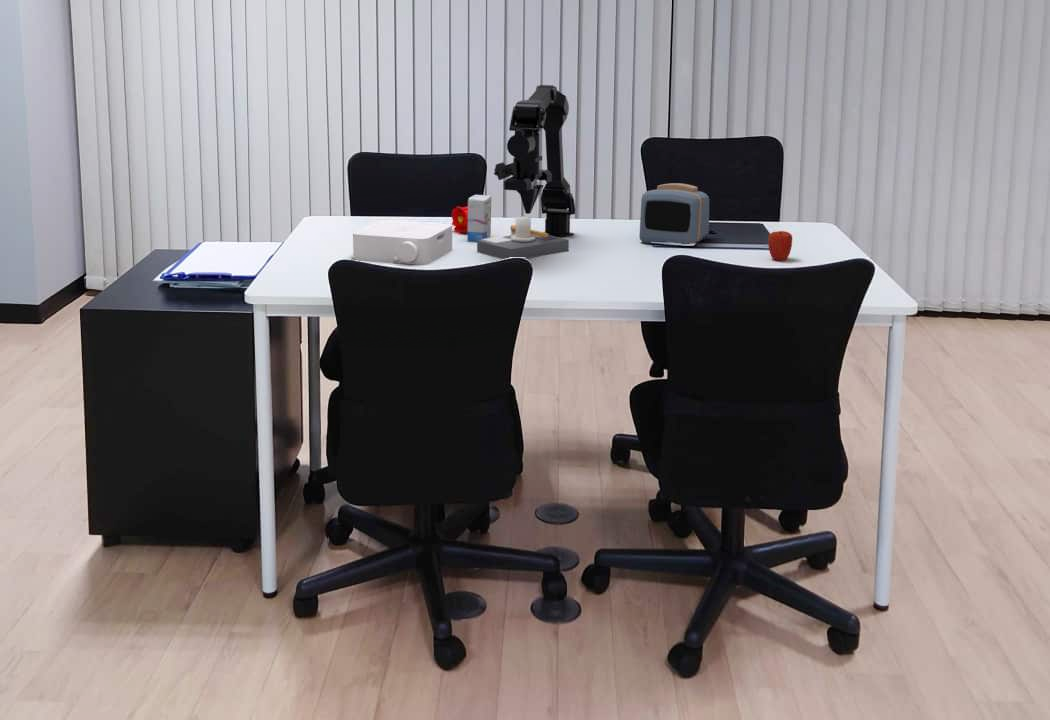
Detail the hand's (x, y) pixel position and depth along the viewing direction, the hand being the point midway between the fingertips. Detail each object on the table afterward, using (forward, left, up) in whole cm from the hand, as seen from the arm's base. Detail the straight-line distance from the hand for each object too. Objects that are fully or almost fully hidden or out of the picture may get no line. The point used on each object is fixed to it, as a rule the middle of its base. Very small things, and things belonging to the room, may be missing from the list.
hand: (527, 213), depth 350 cm
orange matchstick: (-9, -10, -8) cm, 15 cm away
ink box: (-6, -28, -12) cm, 32 cm away
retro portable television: (-47, +7, -12) cm, 50 cm away
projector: (+21, -25, -12) cm, 35 cm away
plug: (-5, -8, -12) cm, 16 cm away
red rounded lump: (-51, +41, -12) cm, 67 cm away
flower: (-10, -38, -12) cm, 42 cm away
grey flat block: (-5, -8, -12) cm, 16 cm away
